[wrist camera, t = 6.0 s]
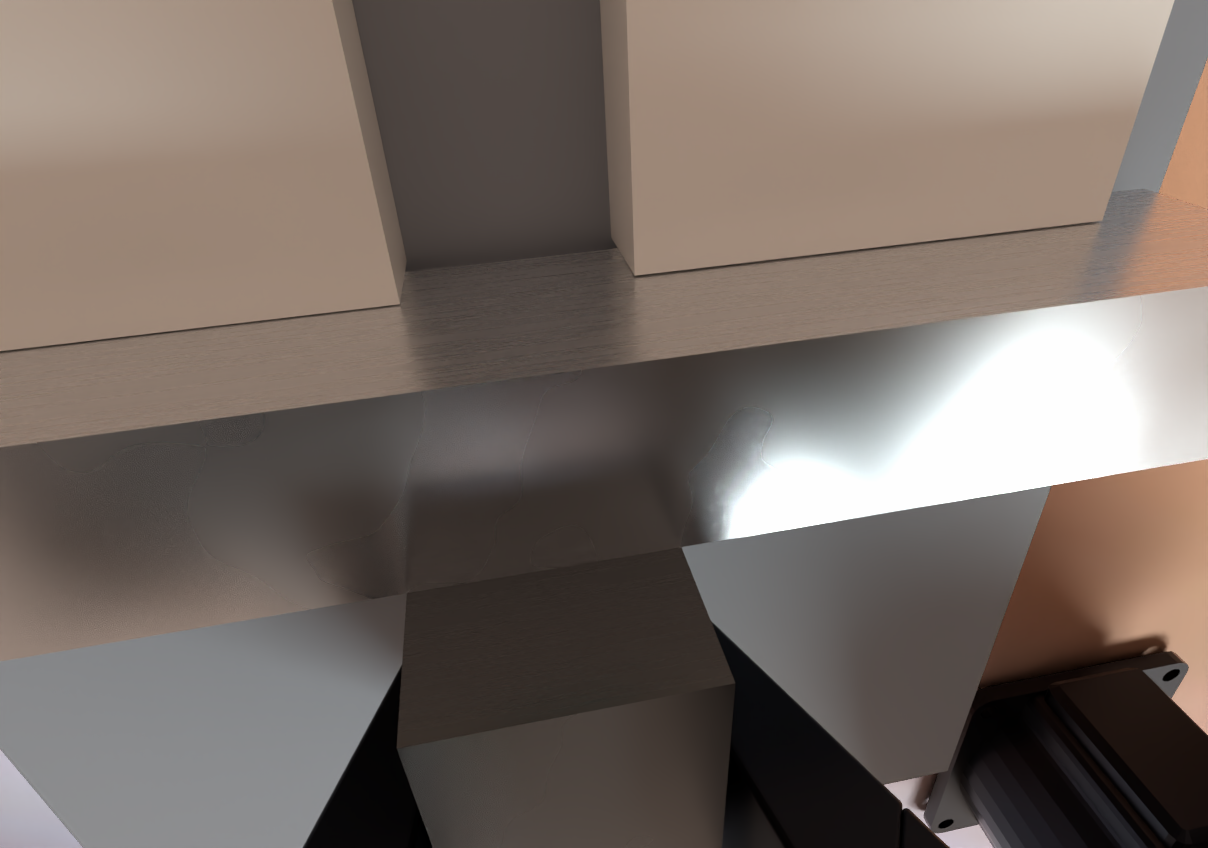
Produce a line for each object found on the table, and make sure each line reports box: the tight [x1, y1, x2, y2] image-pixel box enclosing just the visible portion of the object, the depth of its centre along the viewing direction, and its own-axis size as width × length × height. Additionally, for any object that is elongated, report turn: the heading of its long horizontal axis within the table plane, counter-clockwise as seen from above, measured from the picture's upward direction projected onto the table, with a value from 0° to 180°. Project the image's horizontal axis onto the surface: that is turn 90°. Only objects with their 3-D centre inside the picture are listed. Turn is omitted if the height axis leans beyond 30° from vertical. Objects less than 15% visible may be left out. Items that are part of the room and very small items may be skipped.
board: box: [0, 0, 1208, 848], centre depth 11 cm, size 16×16×3 cm
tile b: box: [0, 0, 407, 351], centre depth 5 cm, size 5×5×1 cm
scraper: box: [0, 188, 1208, 848], centre depth 8 cm, size 8×15×4 cm, turn 93°
